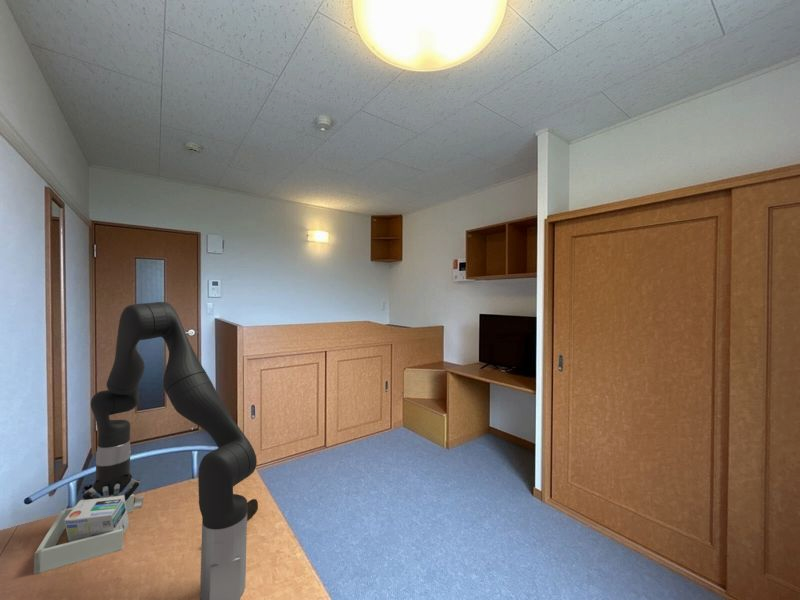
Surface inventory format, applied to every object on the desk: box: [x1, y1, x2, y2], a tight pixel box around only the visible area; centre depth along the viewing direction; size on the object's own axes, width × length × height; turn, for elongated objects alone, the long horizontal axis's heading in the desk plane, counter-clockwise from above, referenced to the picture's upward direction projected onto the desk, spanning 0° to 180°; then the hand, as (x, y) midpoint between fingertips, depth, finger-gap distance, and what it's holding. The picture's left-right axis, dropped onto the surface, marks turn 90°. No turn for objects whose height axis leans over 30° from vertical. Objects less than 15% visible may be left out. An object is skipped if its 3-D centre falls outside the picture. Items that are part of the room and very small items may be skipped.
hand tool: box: [247, 498, 259, 522], centre depth 99 cm, size 19×4×5 cm, turn 160°
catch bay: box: [33, 493, 135, 575], centre depth 94 cm, size 20×16×5 cm
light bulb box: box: [64, 494, 130, 543], centre depth 91 cm, size 11×7×11 cm, turn 105°
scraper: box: [133, 495, 145, 510], centre depth 107 cm, size 6×14×2 cm, turn 122°
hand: (111, 519), depth 96 cm, fingers closed
